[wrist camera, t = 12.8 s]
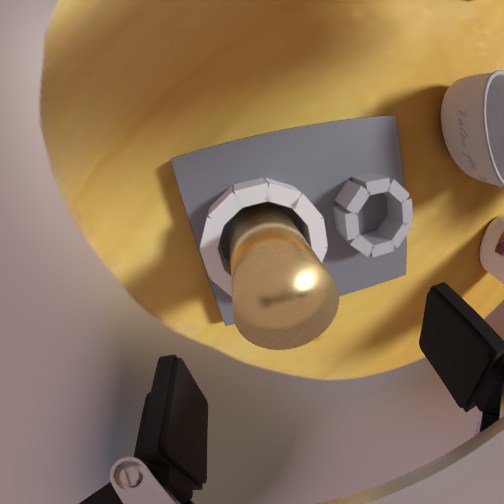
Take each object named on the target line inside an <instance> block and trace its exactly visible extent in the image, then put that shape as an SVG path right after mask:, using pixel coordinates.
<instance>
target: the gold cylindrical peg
mask: <svg viewBox="0 0 504 504" xmlns="http://www.w3.org/2000/svg"><path fill="white" fill-rule="evenodd" d="M229 240H230V262H231V283H232V302H233V317H234V321H235V324H236V327H237V329H238V330H239V332H240V333H241V334H242V335H243V336H244V337H245V338H246V339H247V340H248V341H250V342H251V343H253V344H255V345H257V346H259V347H263V348H266V349H273V350H285V349H292V348H296V347H299V346H302V345H304V344H307V343H309V342H311V341H312V340H314V339H315V338H317V337H318V336H320V335H321V334H322V333H323V332H324V331H325V330H326V329H327V328H328V327H329V325H330V324H331V322H332V321H333V319H334V317H335V315H336V313H337V309H338V304H339V294H338V289H337V286H336V284H335V282H334V280H333V278H332V277H331V276H330V274H329V273H328V271H327V270H326V268H325V267H324V265H323V264H322V262H321V261H320V260H319V258H318V257H317V255H316V254H315V252H314V251H313V250H312V248H311V247H310V245H309V244H308V243H307V241H306V240H305V238H304V237H303V236H302V234H301V233H300V231H299V230H298V229H297V227H296V226H295V225H294V223H293V222H292V220H291V219H290V218H289V216H288V215H287V214H286V213H285V212H284V211H283V210H282V209H280V208H278V207H276V206H274V205H271V204H255V205H252V206H249V207H247V208H245V209H244V210H242V211H241V212H240V213H239V214H238V215H237V216H236V217H235V219H234V220H233V222H232V224H231V227H230V233H229Z"/></svg>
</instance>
